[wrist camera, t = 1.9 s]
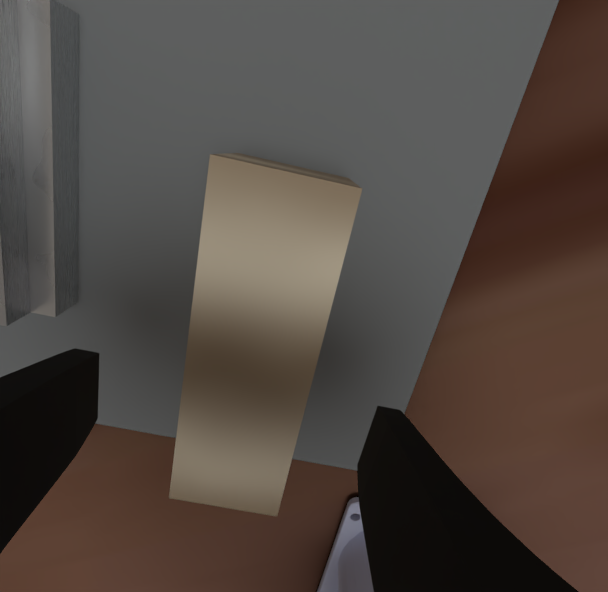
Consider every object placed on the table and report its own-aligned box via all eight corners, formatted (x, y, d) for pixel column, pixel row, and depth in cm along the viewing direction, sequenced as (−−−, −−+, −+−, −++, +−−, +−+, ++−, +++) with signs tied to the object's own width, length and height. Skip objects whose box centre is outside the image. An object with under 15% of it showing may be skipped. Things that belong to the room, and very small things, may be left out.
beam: (283, 440, 18) (276, 516, 14) (198, 424, 18) (168, 497, 14) (348, 178, 14) (362, 188, 10) (237, 152, 14) (209, 153, 10)
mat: (379, 465, 19) (381, 474, 19) (-125, 374, 18) (-139, 381, 17) (584, -95, 11) (599, -108, 11) (-276, -338, 10) (-311, -366, 9)
